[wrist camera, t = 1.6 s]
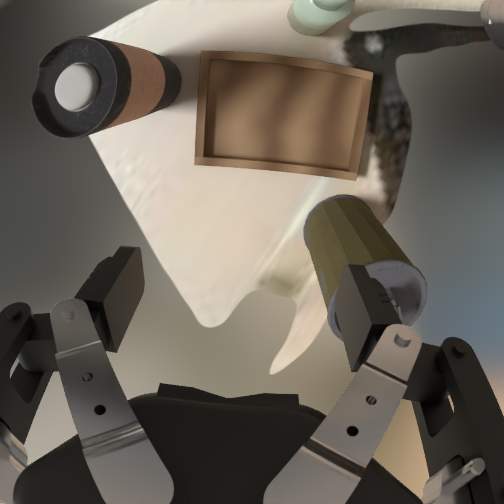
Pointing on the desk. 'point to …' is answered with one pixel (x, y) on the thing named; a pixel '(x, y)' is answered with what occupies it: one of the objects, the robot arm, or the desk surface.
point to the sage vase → (317, 14)
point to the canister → (360, 256)
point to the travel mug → (100, 86)
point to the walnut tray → (281, 114)
